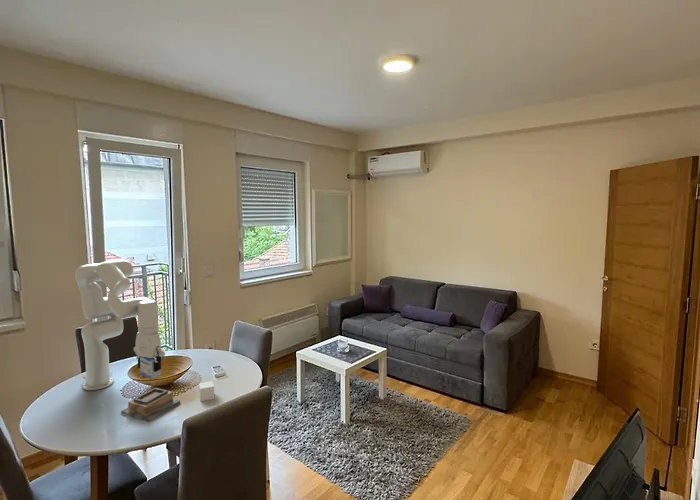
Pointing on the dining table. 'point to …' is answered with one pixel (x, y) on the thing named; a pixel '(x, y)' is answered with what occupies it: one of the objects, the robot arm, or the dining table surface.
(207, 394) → the white cube
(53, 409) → the dining table surface
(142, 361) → the medicine box
